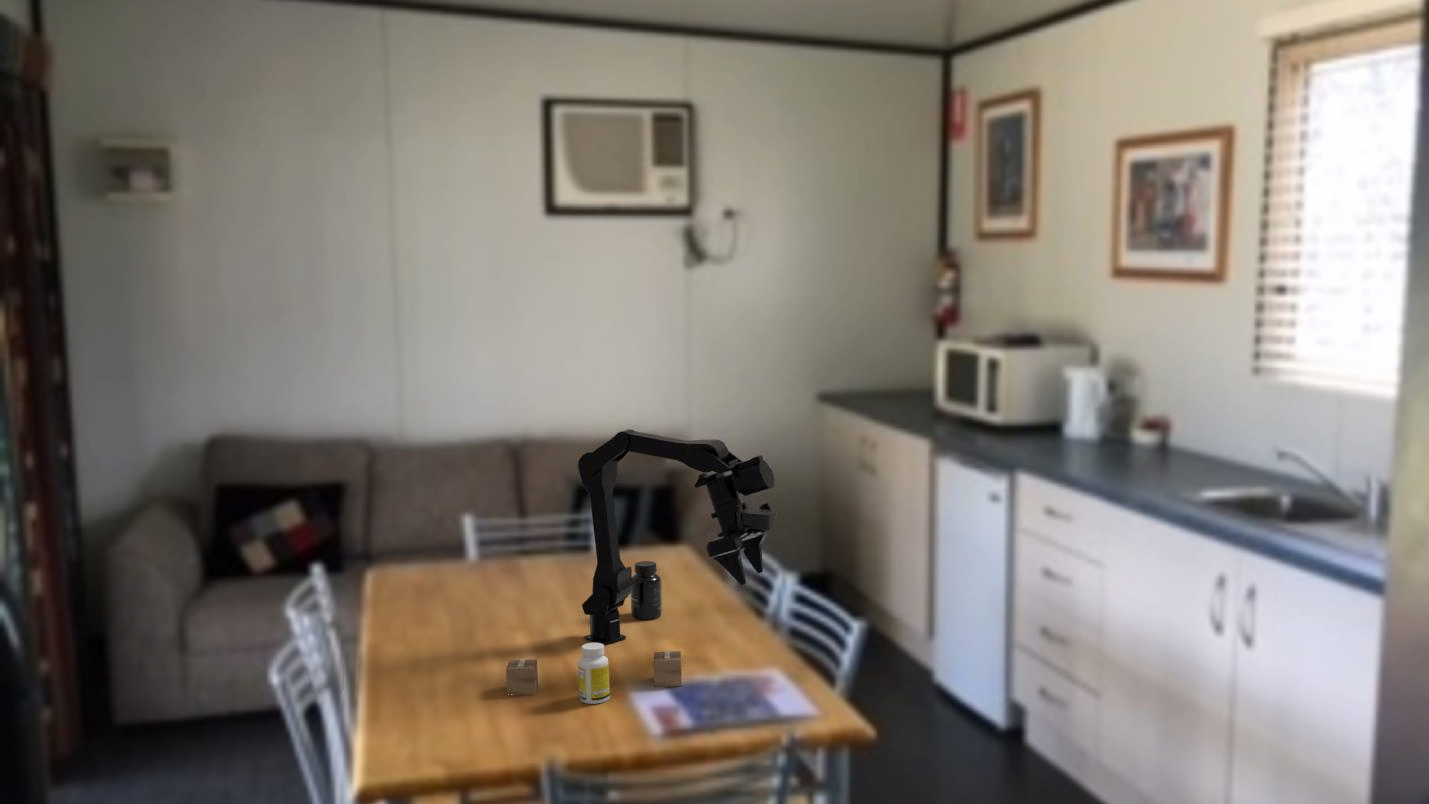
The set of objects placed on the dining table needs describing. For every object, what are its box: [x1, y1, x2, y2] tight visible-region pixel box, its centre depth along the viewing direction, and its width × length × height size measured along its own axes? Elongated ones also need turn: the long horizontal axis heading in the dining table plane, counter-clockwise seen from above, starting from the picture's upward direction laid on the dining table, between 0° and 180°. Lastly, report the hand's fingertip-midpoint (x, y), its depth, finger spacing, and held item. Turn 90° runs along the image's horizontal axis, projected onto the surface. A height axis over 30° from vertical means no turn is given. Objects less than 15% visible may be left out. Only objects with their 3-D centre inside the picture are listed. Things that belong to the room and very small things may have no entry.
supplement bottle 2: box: [630, 560, 663, 621], centre depth 254 cm, size 7×7×12 cm
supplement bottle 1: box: [577, 642, 611, 705], centre depth 205 cm, size 5×5×10 cm
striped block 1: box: [505, 658, 539, 696], centre depth 210 cm, size 5×5×5 cm
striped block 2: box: [653, 650, 682, 688], centre depth 213 cm, size 5×5×5 cm
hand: (752, 578), depth 225 cm, fingers open, 9 cm apart
